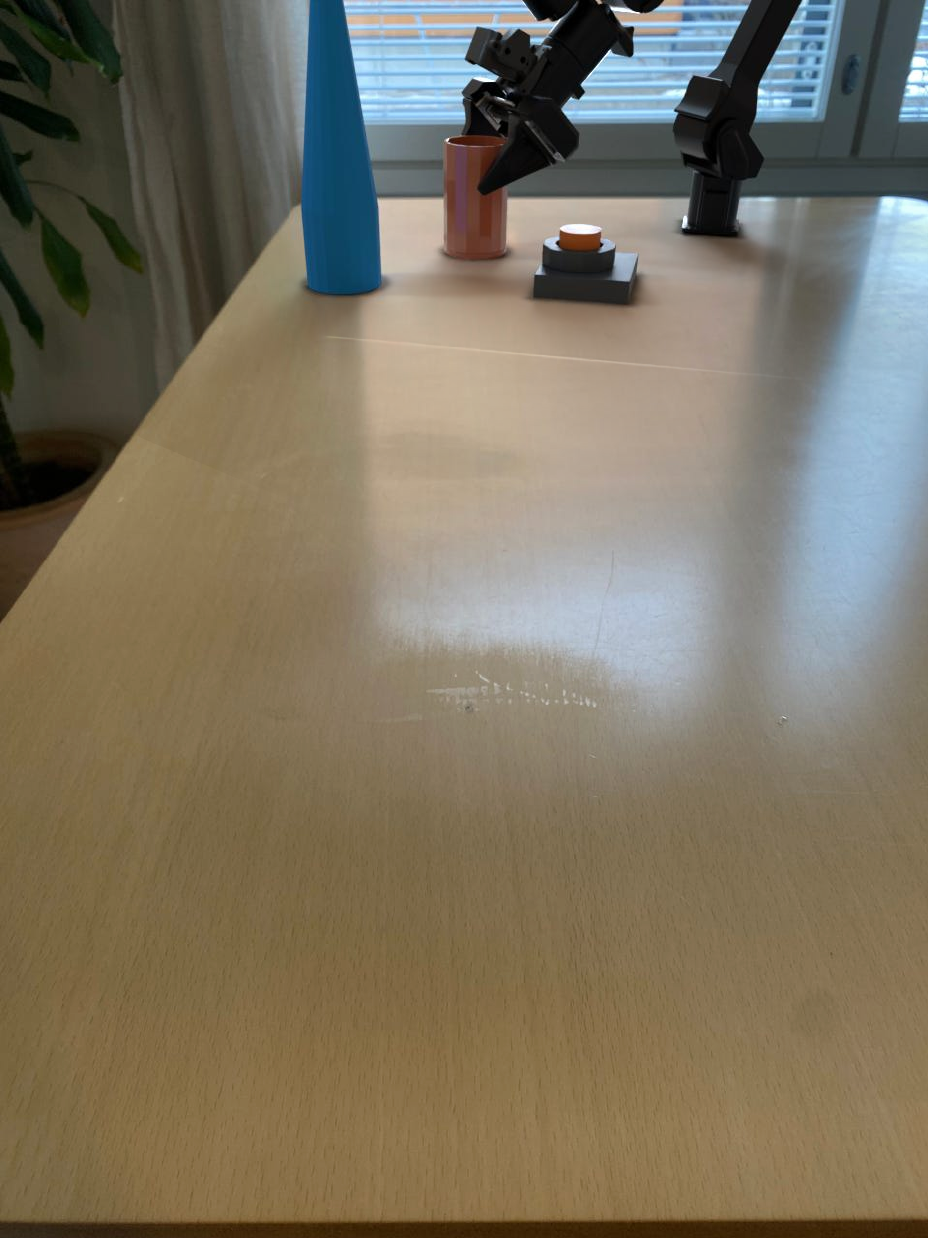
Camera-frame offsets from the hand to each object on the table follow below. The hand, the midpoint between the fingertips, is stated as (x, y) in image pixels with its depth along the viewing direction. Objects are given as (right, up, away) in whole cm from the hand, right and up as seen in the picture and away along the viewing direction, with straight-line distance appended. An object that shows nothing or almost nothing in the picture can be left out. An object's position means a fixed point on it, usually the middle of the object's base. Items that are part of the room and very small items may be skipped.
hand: (463, 183), depth 99 cm
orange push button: (+11, -10, -8) cm, 17 cm away
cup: (+1, -5, +4) cm, 7 cm away
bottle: (-12, -13, -5) cm, 18 cm away
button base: (+12, -13, -6) cm, 19 cm away
